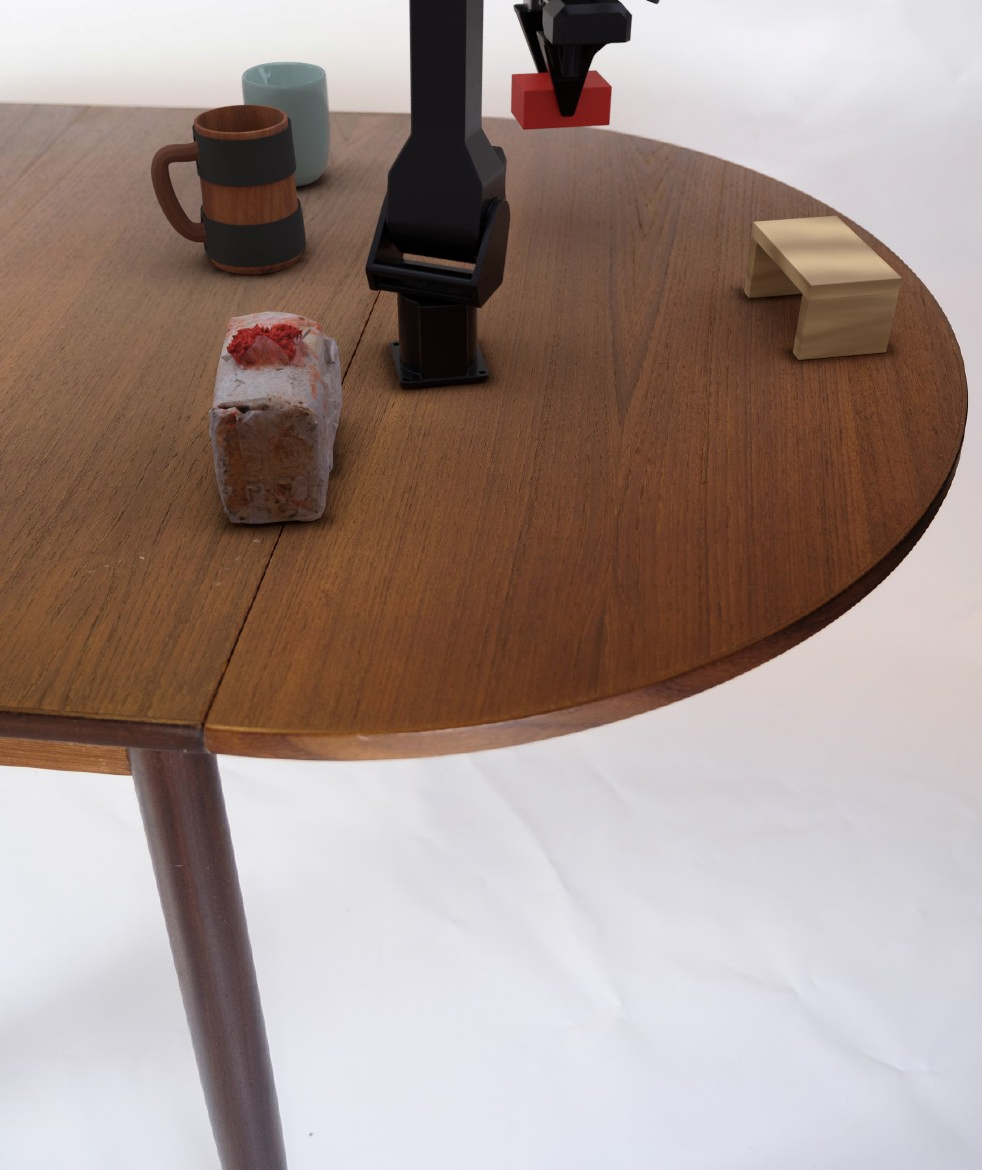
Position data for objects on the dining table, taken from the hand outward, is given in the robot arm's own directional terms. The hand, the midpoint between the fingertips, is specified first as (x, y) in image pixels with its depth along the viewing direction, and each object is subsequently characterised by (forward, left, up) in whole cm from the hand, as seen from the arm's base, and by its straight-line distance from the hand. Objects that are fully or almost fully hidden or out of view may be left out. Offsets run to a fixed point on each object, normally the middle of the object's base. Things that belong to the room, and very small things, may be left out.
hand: (559, 107), depth 109 cm
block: (0, 0, -1) cm, 1 cm away
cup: (+16, +22, -11) cm, 30 cm away
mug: (-2, +28, -11) cm, 31 cm away
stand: (-22, -16, -11) cm, 29 cm away
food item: (-36, +26, -11) cm, 46 cm away
